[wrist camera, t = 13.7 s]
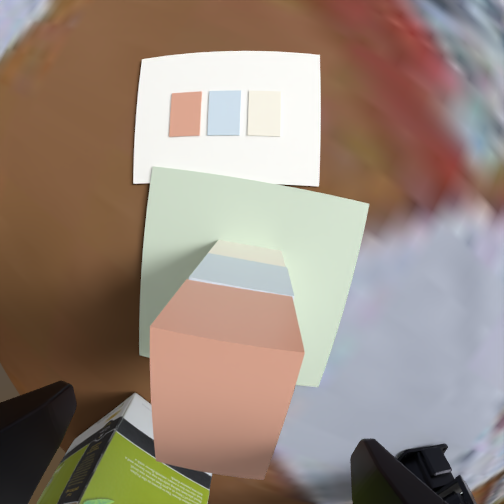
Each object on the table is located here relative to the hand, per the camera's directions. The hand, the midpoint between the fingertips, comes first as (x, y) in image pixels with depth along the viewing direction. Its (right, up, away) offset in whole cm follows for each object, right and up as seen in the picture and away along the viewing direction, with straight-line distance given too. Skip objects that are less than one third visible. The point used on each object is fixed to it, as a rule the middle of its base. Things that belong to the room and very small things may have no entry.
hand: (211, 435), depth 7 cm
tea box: (-11, -15, +17) cm, 25 cm away
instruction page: (-1, +14, +10) cm, 17 cm away
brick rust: (0, +1, +4) cm, 5 cm away
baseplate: (+1, +3, +13) cm, 13 cm away
